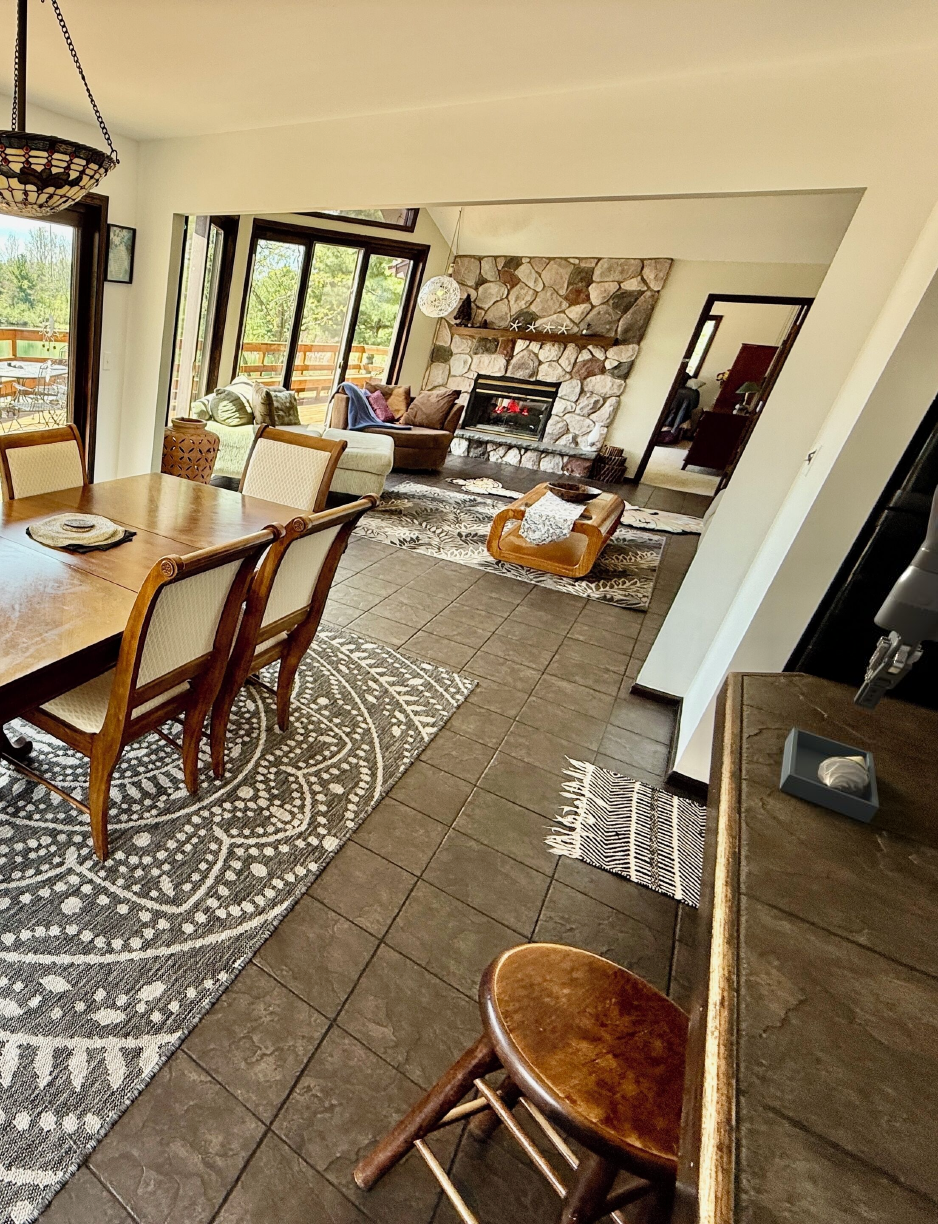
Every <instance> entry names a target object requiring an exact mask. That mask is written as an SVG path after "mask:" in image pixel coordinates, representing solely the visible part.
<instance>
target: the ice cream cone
mask: <svg viewBox="0 0 938 1224" xmlns="http://www.w3.org/2000/svg"><path fill="white" fill-rule="evenodd" d="M818 777H819V778H820V780H821V781H822V782H823V783H824V784H825V785H827V786H828V787H830V788H832V789H835V790H838V791H844V792H847V793H848V792H851V791H853V790H859V789H862V788H863V787H865V786H866V785H867V784H868V783H869V780H870V775H869V773H868V771H867V769H866V765H865V762H864V758H863V757H832V758H829V759H826V760H825V761H824V762H823V763H822V764H820V767H819V770H818Z"/></svg>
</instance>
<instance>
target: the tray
mask: <svg viewBox="0 0 938 1224" xmlns="http://www.w3.org/2000/svg"><path fill="white" fill-rule="evenodd" d="M832 757H863V758H864V762H865V765H866V769H867V771H868V773H869V775H870V780H869V783H868V784H867V785H866V786H865V787H863V788H862V789H859V790H853V791H851V792H848V793H847V792H844V791H838V790H835V789H832V788H830V787H828V786H827V785H825V784H824V783H823V782H822V781H821V780H820V778H819V777H818V770H819V767H820V764H822V763H823V762H824V761H825V760H826V759H829V758H832ZM782 758H783V759H782V765H781V773H780V781H779V782H780V783H779V790H780V791H783V792H784V793H787V794H790V795H793V796H795V797H798V798H800V799H803V800H805V801H808V802H811V803H814V804H816V805H818V806H821V807H824V808H827V809H829V810H832V811H834V812H837V813H840V814H842V815H844V816H847V817H850V818H851V819H852V818H853V819H854V820H858V821H860V822H863V823H865V824H869V823H870V821H871V820H872V819H873V817H874V816H875V814H876V813H877V811H878V810H879V809H880V804H879V794H878V789H877V788H878V787H877V779H876V771H875V762H874V755H873V753H872V752H869V751H866V750H863V749H861V748H857V747H855V746H851V745H849V744H845V743H843V742H840V741H836V740H834V739H831V738H827V737H824V736H821V735H819V734H816V733H812V732H809V731H806V730H803V729H801V728H797V727H793V728H792V729H791V731H790V732H789V734H788V736H787V738H786V739H785V741H784V750H783V756H782Z"/></svg>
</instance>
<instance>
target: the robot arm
mask: <svg viewBox="0 0 938 1224" xmlns="http://www.w3.org/2000/svg"><path fill="white" fill-rule="evenodd" d="M926 531H927V532H926V536H925V539H924V541H923V543H921V545H920V547H919V549H918V550H917V552H916V554H915V556H914V557H913V559H912V561H911V562H910V564H909V565H908V567H907V568H906V569H905V570H904V571H903V573H902V574H901V575H900V576H899V578H898V579H897V581H896V582H895V584H894V586H893V587H892V589H891V591H889V594H888V595H887V597H886V598H885V600H884V602H883V603H882V606H881V607H880V609H879V610H878V612H877V614H876V615H875V617H874V618H873V619H874V620H873V621H874V624H875V625H877V626H878V627H879V628H882V629H884V630H887V631H889V632H890V633H889V635H888V637H886V636H881V637H880V638H879V639H878V642H877V643H876V646H877V648H876V650H875V651H874V653H873V655H872V656H871V658H870V660H869V666H867V667H866V674H865V675H864V677H865V678H864V680H865V681H864V682H863V683H862V685H861V687H860V689H859V690H858V692H857V693H856V695H855V697H854V698H853V702H854V705H856V706H858V707H862V708H864V709H868V710H874V709H875V708H876V707H877V706H878V705H879V703H880V701H881V700H882V698H883V696H884V695H885V693H886V692H887V690H894V688H895V687H896V686H897V685H898V684H899V682H901V680H902V679H904V677H905V676H906V675H907V674H908V673H909V672H910V671H911V672H912V670H913V664H914V663H915V662H918V660H919V659H920V657H921V656H922V654H923V652H924V650H923V649H922V645H921V643H922V642H923V641H931V642H937V643H938V485H936V488H935V491H934V494H933V498H932V503H931V510H930V515H929V520H928V525H927V530H926Z"/></svg>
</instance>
